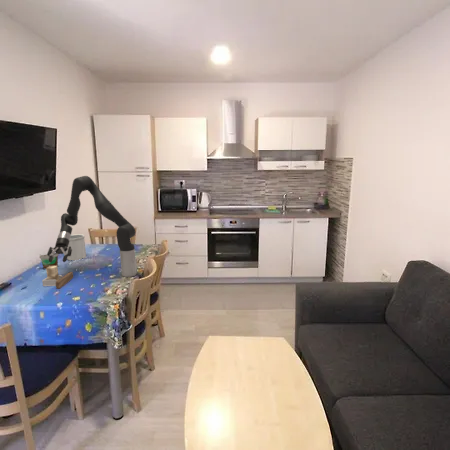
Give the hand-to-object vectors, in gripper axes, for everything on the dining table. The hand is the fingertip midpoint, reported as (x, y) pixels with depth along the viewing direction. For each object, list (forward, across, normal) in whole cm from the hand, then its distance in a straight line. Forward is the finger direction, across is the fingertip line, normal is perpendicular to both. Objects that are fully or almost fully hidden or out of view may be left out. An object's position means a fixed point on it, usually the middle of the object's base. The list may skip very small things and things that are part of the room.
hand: (57, 261), depth 202 cm
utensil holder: (-24, -9, +41) cm, 49 cm away
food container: (-8, -18, +25) cm, 32 cm away
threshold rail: (+13, +7, +4) cm, 15 cm away
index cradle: (+13, -1, +4) cm, 14 cm away
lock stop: (+13, 0, +3) cm, 13 cm away
